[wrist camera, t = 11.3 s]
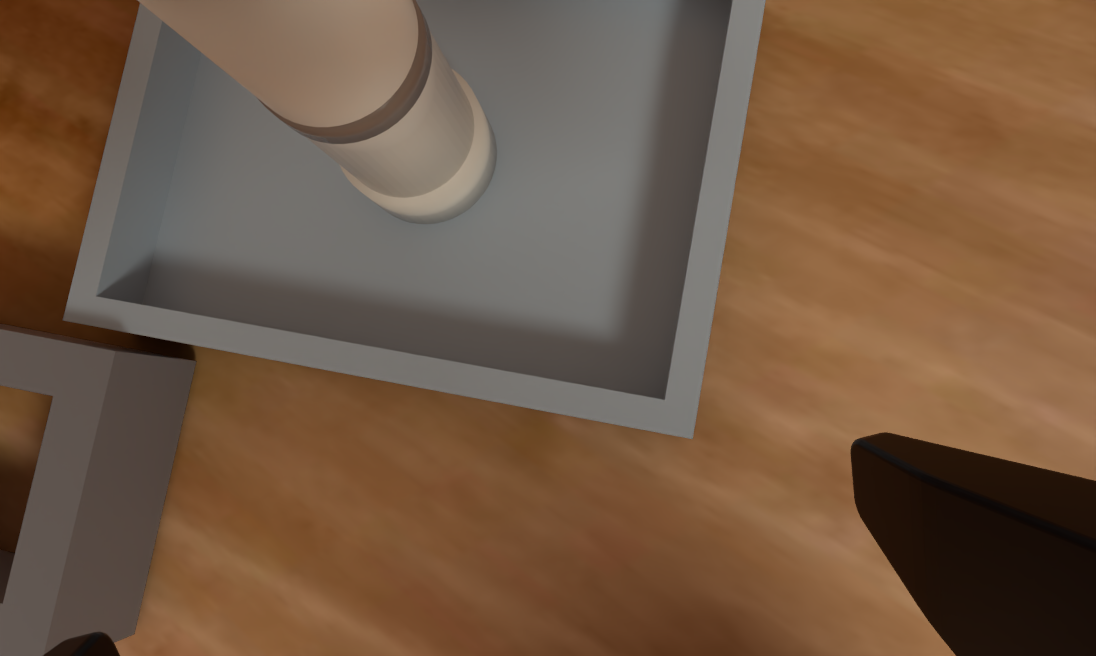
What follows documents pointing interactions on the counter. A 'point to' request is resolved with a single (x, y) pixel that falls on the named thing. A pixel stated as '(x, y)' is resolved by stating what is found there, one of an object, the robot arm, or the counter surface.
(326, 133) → the beige banded cylinder
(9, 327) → the holder
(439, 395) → the counter surface
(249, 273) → the parts tray
